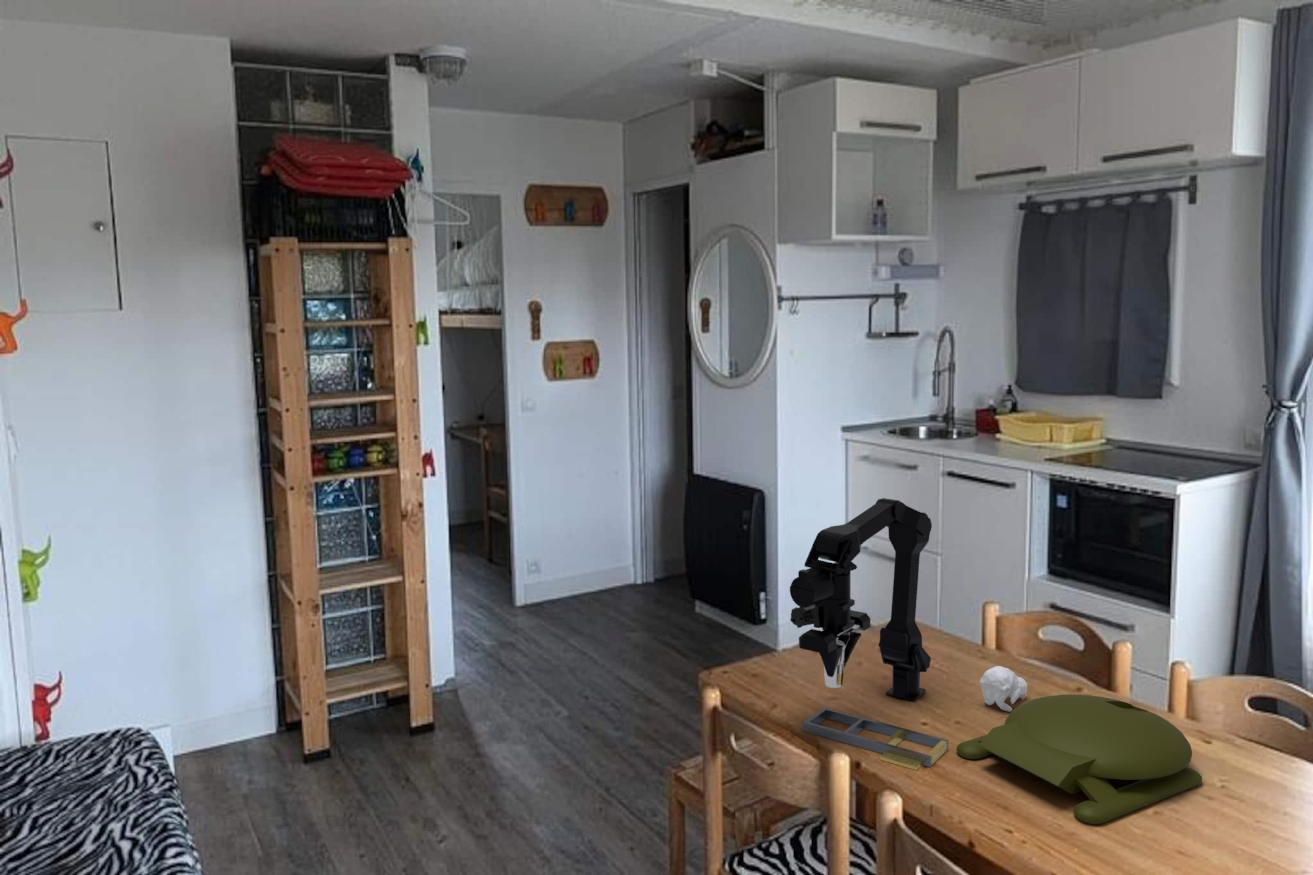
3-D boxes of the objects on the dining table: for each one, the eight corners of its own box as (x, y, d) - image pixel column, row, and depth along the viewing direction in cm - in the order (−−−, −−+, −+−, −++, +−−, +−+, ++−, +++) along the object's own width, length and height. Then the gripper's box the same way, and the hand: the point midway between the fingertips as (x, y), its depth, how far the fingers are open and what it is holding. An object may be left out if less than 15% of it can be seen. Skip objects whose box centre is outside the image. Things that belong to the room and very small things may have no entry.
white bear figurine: (978, 665, 197) (1011, 656, 205) (975, 705, 198) (1008, 695, 205) (1006, 674, 192) (1038, 664, 200) (1002, 715, 193) (1035, 704, 200)
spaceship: (1093, 832, 152) (1095, 773, 150) (950, 754, 179) (950, 704, 178) (1230, 777, 168) (1233, 723, 166) (1079, 713, 195) (1081, 667, 193)
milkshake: (849, 690, 186) (850, 640, 184) (821, 688, 187) (821, 639, 185) (849, 681, 190) (850, 632, 189) (822, 680, 191) (822, 631, 190)
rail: (829, 711, 198) (829, 703, 198) (953, 744, 182) (953, 735, 182) (796, 735, 187) (796, 726, 187) (924, 772, 171) (924, 762, 171)
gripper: (821, 577, 198) (821, 650, 200) (774, 600, 183) (774, 679, 186) (871, 586, 191) (871, 661, 193) (826, 611, 177) (826, 692, 179)
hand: (835, 673), depth 188 cm, fingers closed on milkshake, 4 cm apart
